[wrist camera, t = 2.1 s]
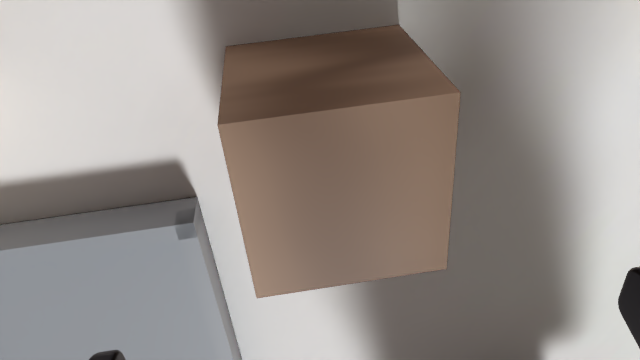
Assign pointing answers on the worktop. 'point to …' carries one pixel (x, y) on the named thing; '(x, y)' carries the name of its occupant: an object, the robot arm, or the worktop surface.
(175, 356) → the tray
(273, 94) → the walnut block
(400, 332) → the worktop surface
